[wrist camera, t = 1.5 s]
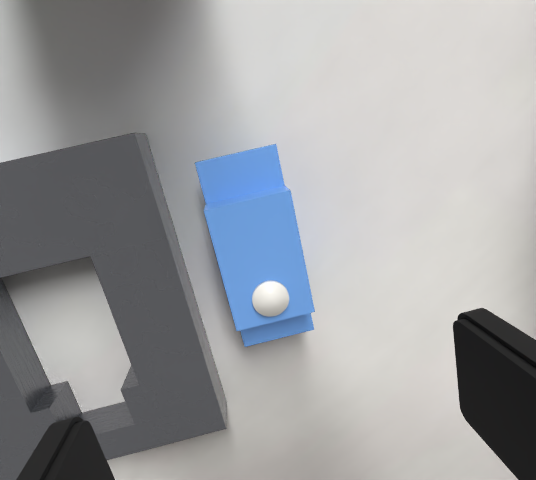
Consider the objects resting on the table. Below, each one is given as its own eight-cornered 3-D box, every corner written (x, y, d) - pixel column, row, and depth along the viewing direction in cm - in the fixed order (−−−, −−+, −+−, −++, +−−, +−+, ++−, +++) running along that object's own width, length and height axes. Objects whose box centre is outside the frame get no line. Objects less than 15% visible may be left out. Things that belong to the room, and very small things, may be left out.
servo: (269, 143, 23) (282, 144, 18) (303, 305, 26) (323, 349, 21) (199, 159, 23) (190, 165, 17) (242, 320, 26) (246, 369, 21)
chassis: (145, 133, 22) (134, 132, 19) (226, 401, 28) (226, 428, 25) (-123, 194, 21) (-172, 201, 19) (15, 456, 27) (-7, 490, 24)
